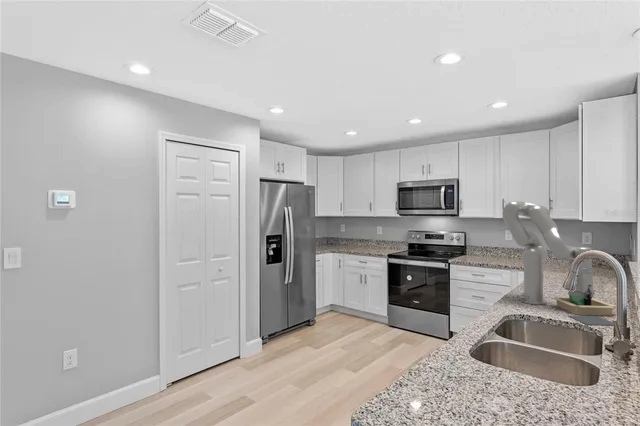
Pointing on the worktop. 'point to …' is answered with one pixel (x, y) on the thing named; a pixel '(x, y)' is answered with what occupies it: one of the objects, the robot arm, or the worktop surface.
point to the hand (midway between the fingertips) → (583, 304)
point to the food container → (577, 298)
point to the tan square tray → (585, 307)
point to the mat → (592, 320)
